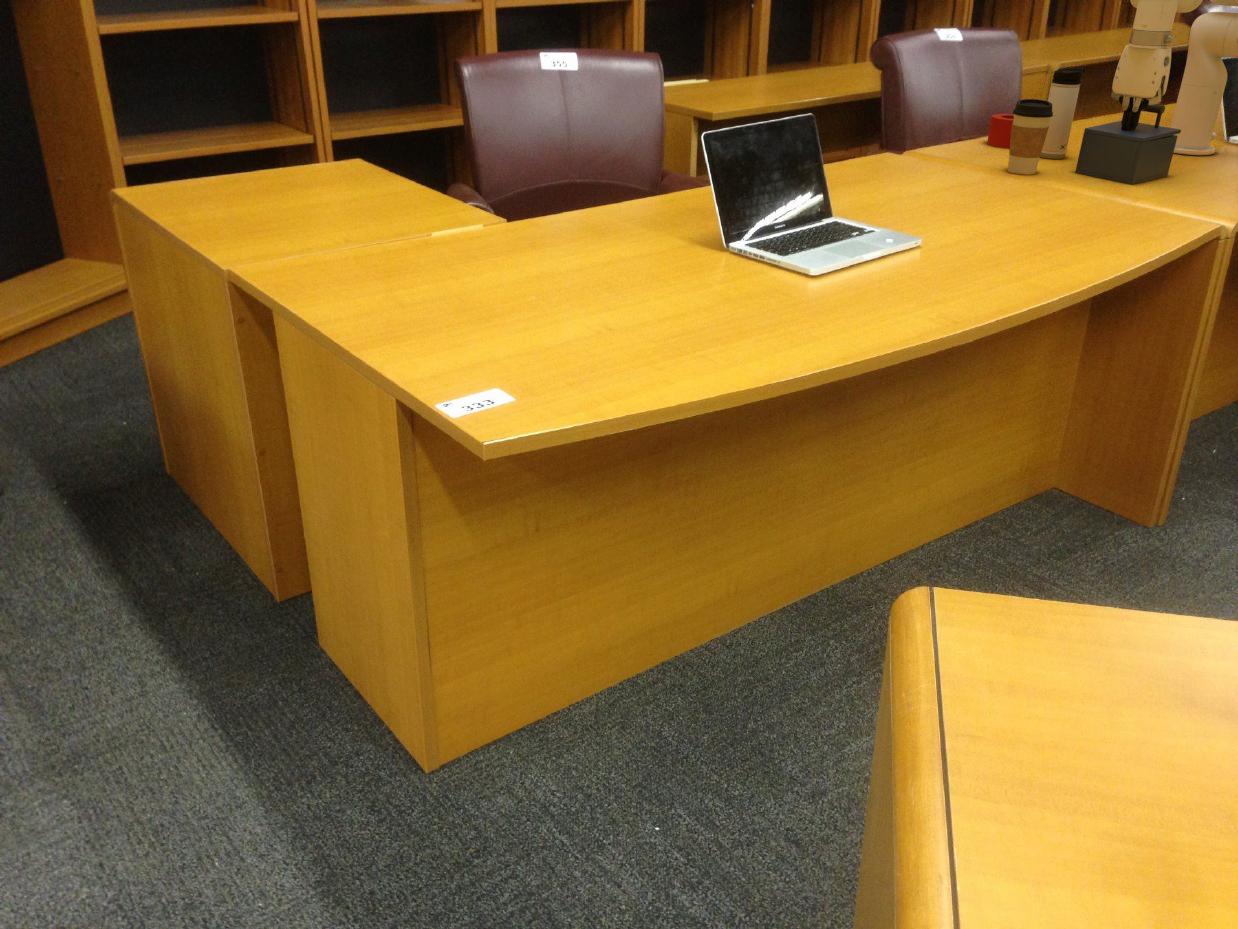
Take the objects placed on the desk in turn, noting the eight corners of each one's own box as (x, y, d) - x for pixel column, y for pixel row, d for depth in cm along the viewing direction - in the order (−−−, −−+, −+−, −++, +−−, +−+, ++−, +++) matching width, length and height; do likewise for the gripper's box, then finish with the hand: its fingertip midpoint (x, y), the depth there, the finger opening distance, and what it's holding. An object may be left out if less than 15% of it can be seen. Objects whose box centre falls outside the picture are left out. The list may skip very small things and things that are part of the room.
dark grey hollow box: (1110, 165, 243) (1119, 125, 239) (1167, 176, 233) (1177, 135, 229) (1075, 172, 235) (1083, 132, 231) (1132, 184, 226) (1142, 142, 221)
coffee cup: (1041, 169, 237) (1055, 100, 230) (1041, 177, 230) (1055, 105, 223) (1002, 166, 240) (1014, 97, 233) (1001, 173, 233) (1014, 103, 226)
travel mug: (1068, 160, 247) (1087, 70, 238) (1039, 158, 248) (1057, 68, 239) (1064, 154, 253) (1082, 66, 243) (1035, 153, 254) (1052, 65, 244)
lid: (1122, 123, 239) (1127, 97, 236) (1180, 133, 230) (1186, 106, 227) (1083, 131, 231) (1089, 105, 228) (1142, 142, 221) (1149, 114, 219)
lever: (982, 145, 261) (987, 117, 258) (991, 139, 268) (996, 112, 265) (1058, 154, 253) (1064, 125, 250) (1065, 147, 260) (1071, 120, 257)
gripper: (1193, 42, 217) (1170, 133, 226) (1125, 35, 228) (1105, 122, 236) (1174, 43, 213) (1151, 137, 222) (1106, 36, 224) (1087, 126, 232)
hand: (1128, 129), depth 229 cm, fingers closed
